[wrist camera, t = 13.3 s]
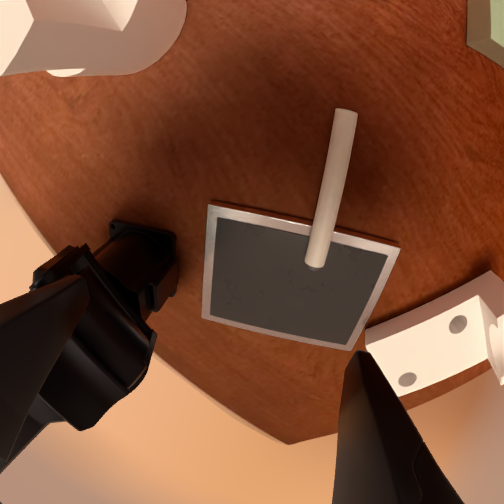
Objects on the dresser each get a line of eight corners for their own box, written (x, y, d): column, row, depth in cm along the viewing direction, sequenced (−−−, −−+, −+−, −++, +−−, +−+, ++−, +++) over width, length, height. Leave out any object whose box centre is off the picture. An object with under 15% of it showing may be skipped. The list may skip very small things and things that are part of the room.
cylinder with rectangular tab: (76, 29, 15) (-41, 32, 4) (154, -43, 11) (46, -93, 1) (116, 98, 18) (-19, 127, 7) (210, 22, 14) (89, -39, 4)
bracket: (486, 266, 19) (524, 301, 12) (497, 327, 19) (525, 371, 13) (365, 324, 24) (364, 376, 18) (387, 377, 25) (388, 431, 18)
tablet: (204, 311, 26) (200, 318, 25) (211, 199, 20) (207, 204, 20) (350, 344, 25) (351, 352, 24) (398, 242, 19) (401, 249, 18)
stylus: (302, 270, 19) (336, 107, 14) (303, 261, 20) (334, 109, 16) (323, 274, 19) (360, 112, 14) (322, 265, 20) (355, 114, 16)
